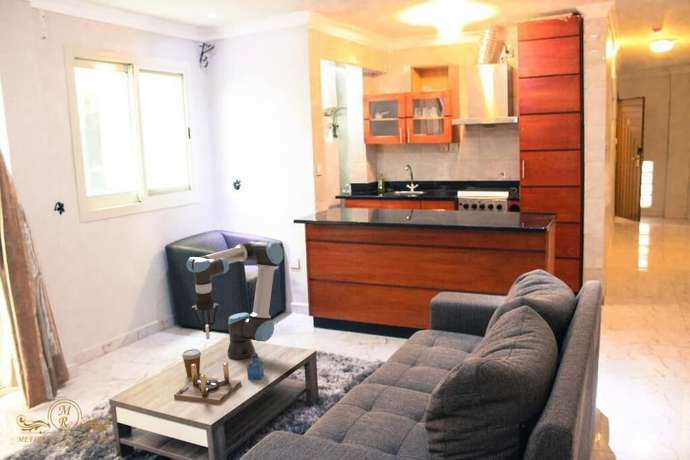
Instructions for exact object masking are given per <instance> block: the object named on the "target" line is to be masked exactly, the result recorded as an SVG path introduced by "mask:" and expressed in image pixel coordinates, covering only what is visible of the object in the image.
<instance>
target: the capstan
mask: <svg viewBox="0 0 690 460" xmlns="http://www.w3.org/2000/svg"><path fill="white" fill-rule="evenodd" d="M222 367H223V369H222V370H223V378H221V379H222V380H218V381H217V380H214V379H208V380H206V377H207V376H206V375H205V374H201V375H200V380H197V377H198V375H197V369H196V364H191V370H192V377H191V379H192V380H191V381H192V382H193V384H197V385H199V389H200V390H201V393H202V396H207V392H208V391H211V390H214V389H216V388H217V387H218V385H220V384H224V383H229V380H230V370H229V363H228V362H223V363H222Z"/></svg>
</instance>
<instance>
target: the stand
mask: <svg viewBox="0 0 690 460" xmlns="http://www.w3.org/2000/svg"><path fill="white" fill-rule="evenodd" d="M200 376H201V375H200ZM200 376H199V375H197V380H200ZM205 377H206V380H208V379H214V380H217V381H218V380H222V379H223V378H219V377H209V376H205ZM241 385H242V381H241V380H237V379H229V383H224V384H220V385H218V387H217V388H216V389H214V390H211V391H208V392H207V396H202V393H201V390H200V389H199V385H197V384H193V382H192V380H191V381H190V382H189V383H187V384H185V385H184V386H183V387H182V388H179V390H177V391H176V392H175V393H174V394H173V399H176V400H183V401H190V402H191V401H192V402H200V403H209V404H214V405H220V404H221V403H223V402H224V401H225V400H226V399H227V398H228V397H229V396H230V395H231V394H232V393H234V391H236V390H237V389H238V388H239V387H240V386H241Z"/></svg>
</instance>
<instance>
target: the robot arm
mask: <svg viewBox="0 0 690 460" xmlns="http://www.w3.org/2000/svg"><path fill="white" fill-rule="evenodd" d="M283 258H284V251H283V248H282V246H281V245H280V243H278V242H275V241H265V240H251V241H247V242H242V243H240V244H236V245H235V247H231V248H228V249H225V250H219V251H217V252H214V253H211V254H206V255H202V256H199V257H198V256H197V257H196V256H192V257H191V256H190V257H189V258H188V259H187V261H186V268H187V270H188V271H189V272H192V273H193V274H194V275H193V276H194V285H195V295H196V302H195V305H192V307H191V310H192V312H194V315H195V318H196V321H197V324H198V326H200V327H201V326H202V332H203V333H205V338H206V340H210V338H211V337H210V336H211V335H210V332H211V333H212V325H214V324H215V321H216V316H217V311H218V308H219V306H220V305H219V303H216V302H215V300H214V297H213V291H212V290H213V288H212V287H213V286H212V278H213V277H216V276H220V275H223V274H225V273H228V271H229V269H230V264H233V263H237V262H241V263H242V262H248V261H249V262H250V261H251V262H255V265H256V267H257V277H256V285H255V292H254V293H255V294H254V300H253V308H252V312H251V313H248V312H240V313H239V312H238V313H235V314H232V315H230V316H228V322H227V323H228V326H227V327H228V335H229V345H228V349H227V357H228V358H229V359H233V360H245V359H248V358H251V357H252V354H256V349H255V346H254V343H253V341H256V342H261V343H262V342H263V343H264V342H267V341H269V340H270V339H271V338H272V337H273V334H274V331H275V324H274V322H273V321H272V319H271V318H272V317H271V315H270V306H271V305H270V304H271V298H272V290H273V289H272V288H273V281H274V271H275V270H276V269H277V268H278V265H279V264H280V263H281V262H282V260H283ZM212 307H213V313H212V319H211V309H212ZM198 309H199V310H200V311H201V317H200V315H199V314H200V313H199V312H198V311H199V310H198ZM205 311H206V313H205ZM205 314H207V316H206V315H205ZM206 317H207V324H206ZM201 319H202V320H201Z"/></svg>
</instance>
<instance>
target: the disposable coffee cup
mask: <svg viewBox="0 0 690 460" xmlns="http://www.w3.org/2000/svg"><path fill="white" fill-rule="evenodd" d="M201 356H202V353H201V350H199V349H197V348H194V349H193V348H192V349H187V350H184V351H183V352H182V355H181V358H182V359H183V364H184V367H185V373H186V376H187V377H189V378H190V377H191V378H192V370H191V364H196V369H197V376H199V375H200V374H201V373H200V372H201V371H200V369H201Z"/></svg>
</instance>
